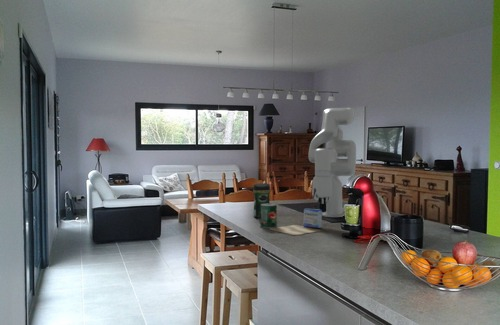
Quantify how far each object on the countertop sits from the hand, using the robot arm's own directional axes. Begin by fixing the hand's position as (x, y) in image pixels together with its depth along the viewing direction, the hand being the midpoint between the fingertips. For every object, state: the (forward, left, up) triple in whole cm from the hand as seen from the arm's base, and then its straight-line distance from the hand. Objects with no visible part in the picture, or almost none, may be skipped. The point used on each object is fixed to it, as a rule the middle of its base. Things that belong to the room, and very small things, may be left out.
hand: (322, 211), depth 223 cm
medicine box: (+7, 0, -7) cm, 10 cm away
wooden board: (+18, 0, -7) cm, 19 cm away
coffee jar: (+8, -40, -7) cm, 41 cm away
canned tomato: (+22, -15, -7) cm, 28 cm away
